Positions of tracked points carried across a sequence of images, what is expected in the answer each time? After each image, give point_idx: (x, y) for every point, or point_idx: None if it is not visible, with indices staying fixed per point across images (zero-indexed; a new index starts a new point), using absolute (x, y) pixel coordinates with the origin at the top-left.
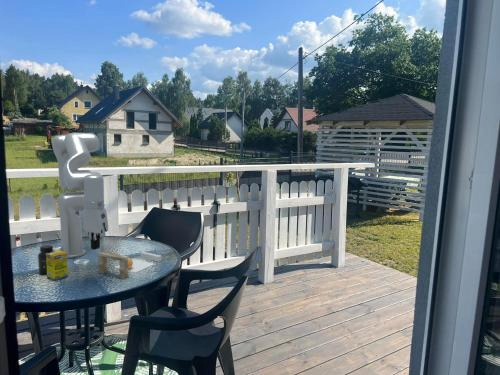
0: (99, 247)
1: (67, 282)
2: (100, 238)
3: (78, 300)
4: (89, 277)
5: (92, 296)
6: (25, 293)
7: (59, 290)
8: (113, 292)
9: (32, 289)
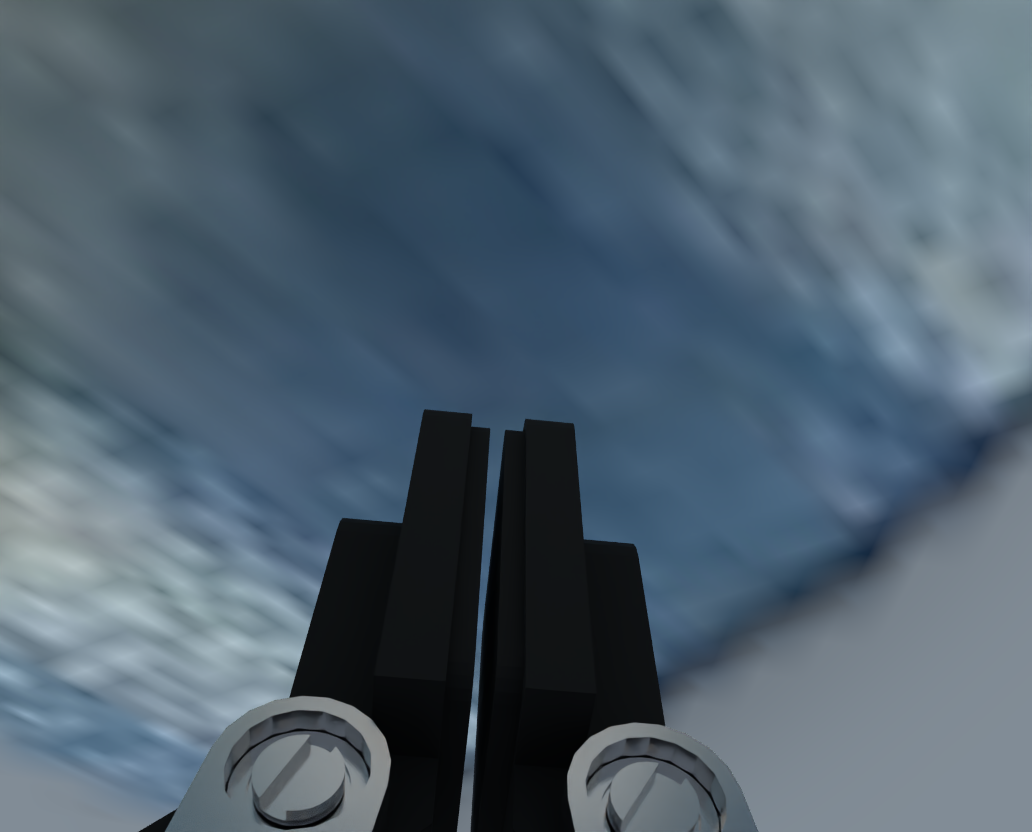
0: (567, 437)
1: (152, 370)
2: (715, 774)
3: (718, 666)
4: (261, 76)
5: (805, 554)
6: (65, 730)
7: (304, 573)
8: (1012, 379)
9: (15, 652)
